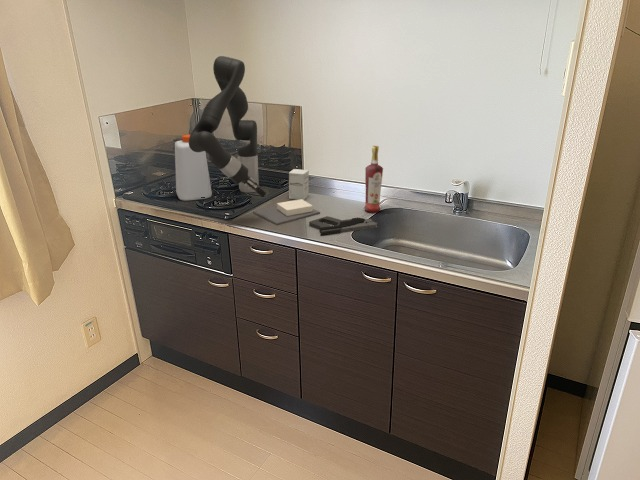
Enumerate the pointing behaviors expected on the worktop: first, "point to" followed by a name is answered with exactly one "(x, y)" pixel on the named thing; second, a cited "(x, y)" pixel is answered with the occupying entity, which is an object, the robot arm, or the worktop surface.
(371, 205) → the liquor
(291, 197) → the supplement box
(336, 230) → the pistol
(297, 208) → the tile
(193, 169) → the plastic bottle
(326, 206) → the worktop surface
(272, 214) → the mat
